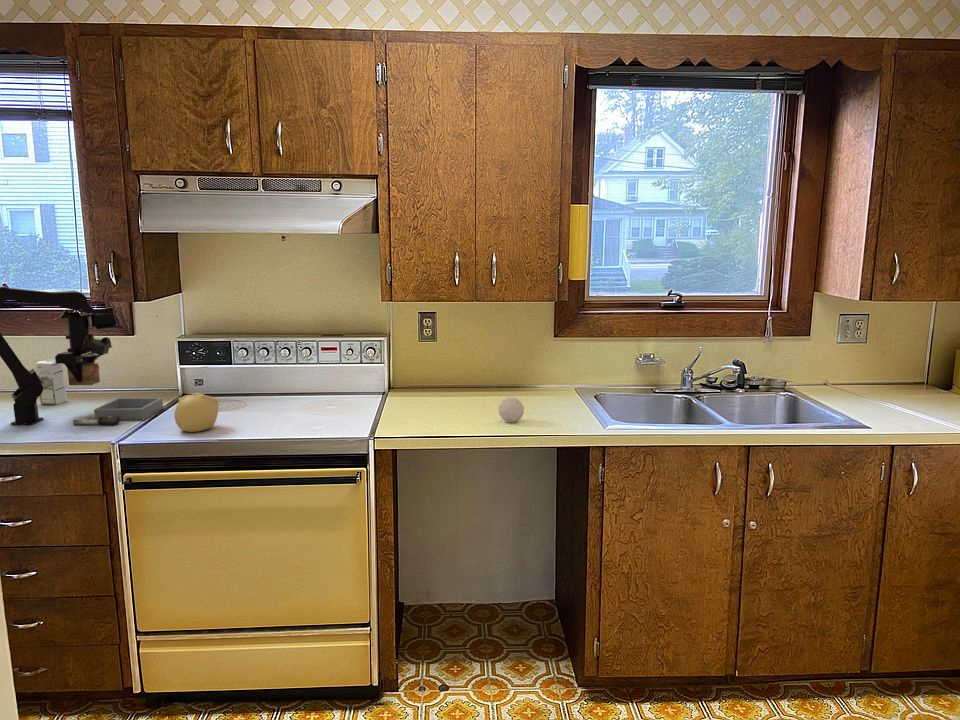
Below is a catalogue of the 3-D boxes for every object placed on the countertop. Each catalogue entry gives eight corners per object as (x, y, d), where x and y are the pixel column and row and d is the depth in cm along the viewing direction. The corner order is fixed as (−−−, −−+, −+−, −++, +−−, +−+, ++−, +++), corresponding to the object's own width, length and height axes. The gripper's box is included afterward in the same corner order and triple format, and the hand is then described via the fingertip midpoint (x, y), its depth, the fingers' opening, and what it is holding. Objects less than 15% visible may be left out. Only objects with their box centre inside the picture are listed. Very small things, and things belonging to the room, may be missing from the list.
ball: (517, 431, 214) (527, 414, 209) (493, 423, 213) (503, 405, 208) (519, 413, 220) (529, 397, 215) (495, 405, 219) (505, 388, 214)
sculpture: (224, 423, 213) (221, 389, 211) (209, 435, 201) (206, 398, 199) (186, 423, 213) (183, 389, 211) (169, 435, 201) (166, 398, 199)
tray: (142, 420, 216) (141, 409, 216) (95, 420, 216) (93, 409, 216) (163, 408, 231) (162, 397, 230) (118, 408, 231) (117, 398, 230)
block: (91, 385, 220) (89, 366, 219) (69, 385, 220) (66, 366, 219) (100, 381, 225) (98, 362, 224) (78, 381, 225) (76, 362, 224)
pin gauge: (119, 423, 213) (118, 415, 213) (115, 425, 211) (114, 417, 210) (76, 423, 213) (75, 415, 213) (72, 426, 210) (71, 417, 210)
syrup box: (67, 400, 241) (62, 359, 238) (55, 405, 235) (50, 362, 232) (52, 400, 241) (47, 359, 239) (39, 404, 236) (34, 362, 233)
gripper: (88, 336, 210) (94, 386, 213) (119, 327, 229) (124, 373, 232) (51, 336, 210) (57, 386, 213) (85, 327, 229) (90, 373, 232)
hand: (84, 380), depth 222 cm, fingers closed on block, 5 cm apart
